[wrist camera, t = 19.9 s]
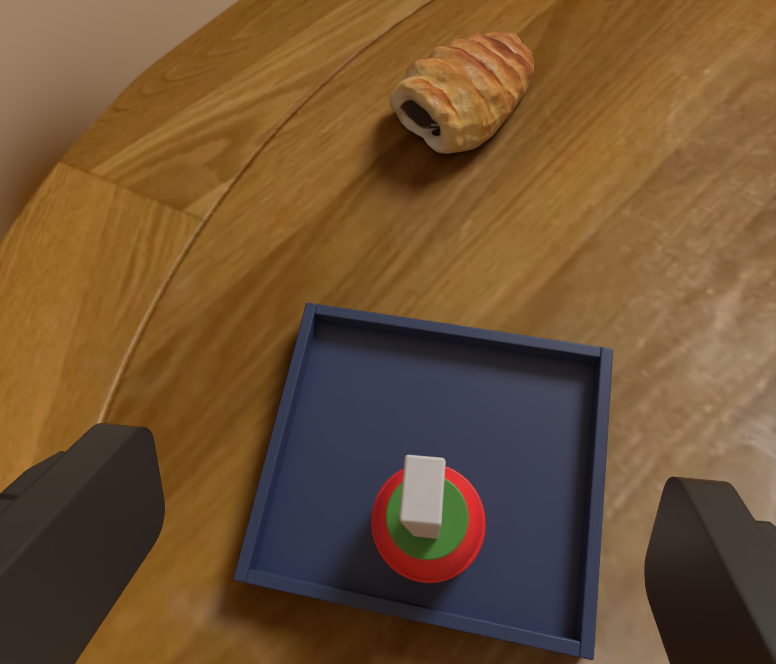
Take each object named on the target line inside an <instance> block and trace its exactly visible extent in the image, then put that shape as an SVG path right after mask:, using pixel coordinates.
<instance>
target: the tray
mask: <svg viewBox="0 0 776 664" xmlns="http://www.w3.org/2000/svg"><path fill="white" fill-rule="evenodd" d="M612 358H613V349H611V348H605V347H598V346H591V345H585V344H578V343H571V342H565V341H558V340H552V339H545V338H538V337H532V336H525V335H518V334H512V333H505V332H499V331H492V330H485V329H479V328H472V327H465V326H459V325H452V324H445V323H439V322H432V321H426V320H419V319H412V318H406V317H399V316H392V315H386V314H379V313H373V312H366V311H359V310H353V309H346V308H339V307H333V306H326V305H319V304H313V303H306V306H305V310H304V313H303V317H302V321H301V325H300V329H299V332H298V336H297V340H296V344H295V348H294V351H293V355H292V359H291V363H290V367H289V370H288V374H287V378H286V382H285V385H284V389H283V393H282V397H281V401H280V404H279V408H278V412H277V416H276V420H275V423H274V427H273V431H272V435H271V439H270V442H269V446H268V450H267V454H266V457H265V461H264V465H263V469H262V473H261V476H260V480H259V484H258V488H257V492H256V495H255V499H254V503H253V507H252V511H251V514H250V518H249V522H248V526H247V529H246V533H245V537H244V541H243V545H242V548H241V552H240V556H239V560H238V564H237V567H236V571H235V575H234V581H239V582H243V583H245V582H246V583H247V584H252V585H256V586H261V587H265V588H270V589H274V590H279V591H283V592H288V593H292V594H297V595H301V596H306V597H310V598H315V599H319V600H324V601H328V602H333V603H337V604H342V605H346V606H351V607H355V608H360V609H364V610H369V611H373V612H378V613H382V614H387V615H391V616H396V617H400V618H405V619H409V620H414V621H418V622H423V623H427V624H432V625H436V626H441V627H445V628H450V629H454V630H459V631H463V632H467V633H472V634H476V635H481V636H485V637H490V638H494V639H499V640H503V641H508V642H512V643H517V644H521V645H526V646H530V647H535V648H539V649H544V650H548V651H553V652H557V653H562V654H566V655H571V656H575V657H581V658H585V659H589V660H593V659H594V646H595V630H596V614H597V598H598V582H599V566H600V550H601V534H602V518H603V502H604V486H605V470H606V454H607V438H608V422H609V406H610V390H611V374H612ZM406 455H416V456H427V457H438V458H443V459H445V461H446V464H445V466H447V467H449V468H451V469H453V470H455V471H457V472H458V473H460V474H461V475H462V476H464V477H465V478H466V479H467V480H468V481H469V482H470V483H471V485H472V486H473V487H474V489H475V490H476V492H477V493H478V495H479V497H480V500H481V502H482V505H483V508H484V512H485V521H486V528H485V536H484V540H483V544H482V546H481V549H480V551H479V553H478V555H477V557H476V558H475V559H474V561H473V562H472V563H471V564H470V565H469V567H468V568H467V569H465V570H464V571H463V572H462V573H460V574H459V575H457V576H455V577H453V578H451V579H448V580H446V581H442V582H436V583H423V582H417V581H414V580H411V579H408V578H406V577H404V576H402V575H400V574H399V573H397V572H396V571H394V570H393V569H392V568H391V567H390V566H389V565H388V564H387V563H386V562H385V560H384V559H383V558H382V556H381V555H380V553H379V551H378V549H377V547H376V545H375V542H374V539H373V534H372V527H371V515H372V509H373V505H374V502H375V499H376V497H377V495H378V493H379V491H380V489H381V488H382V486H383V485H384V484H385V482H386V481H387V480H388V479H389V478H390V477H391V476H393V475H394V474H395V473H397V472H398V471H400V470H402V469H403V468H404V461H405V457H406Z"/></svg>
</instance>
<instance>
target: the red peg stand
mask: <svg viewBox="0 0 776 664" xmlns="http://www.w3.org/2000/svg"><path fill="white" fill-rule="evenodd" d="M445 464H446V461H445V459H443V458H438V457H427V456H416V455H406V457H405V461H404V468H403V469H402V470H400V471H398V472H397V473H395V474H394V475H393V476H391V477H390V478H389V479H388V480H387V481H386V482H385V484H384V485H383V486H382V488H381V489H380V491H379V493H378V495H377V497H376V499H375V502H374V505H373V509H372V515H371V527H372V534H373V539H374V542H375V545H376V547H377V549H378V551H379V553H380V555H381V556H382V558H383V559H384V560H385V562H386V563H387V564H388V565H389V566H390V567H391V568H392V569H393V570H394V571H396V572H397V573H399V574H400V575H402V576H404V577H406V578H408V579H411V580H414V581H417V582H423V583H436V582H442V581H446V580H448V579H451V578H453V577H455V576H457V575H459V574H460V573H462V572H463V571H464V570H465V569H467V568H468V567H469V565H470V564H471V563H472V562H473V561H474V559H475V558H476V557H477V555H478V553H479V551H480V549H481V546H482V544H483V540H484V536H485V528H486V521H485V512H484V508H483V505H482V502H481V500H480V497H479V495H478V493H477V492H476V490H475V489H474V487H473V486H472V485H471V483H470V482H469V481H468V480H467V479H466V478H465V477H464V476H462V475H461V474H460V473H458V472H457V471H455V470H453V469H451V468H449V467H447V466H445Z"/></svg>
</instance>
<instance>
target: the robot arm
mask: <svg viewBox="0 0 776 664" xmlns="http://www.w3.org/2000/svg"><path fill="white" fill-rule="evenodd" d="M164 514H165V502H164V496H163V490H162V484H161V478H160V472H159V466H158V461H157V455H156V449H155V443H154V438H153V435H152V433H151V431H150V430H149V429H148V428H146V427H138V426H127V425H116V424H105V423H99V424H96V425H94V426H93V427H92V428H90V429H89V430H88V431H87V432H86V433H85V434H84V435H83V436H82V437H81V438H80V439H79V440H78V441H76V442H75V443H74V444H73V445H72V446H71V447H70V448H69V449H68V450H67V451H66V452H63V451H60V452H59V453H57V454H55V455H53V456H51V457H49V458H48V459H46V460H44V461H42V462H40V463H39V464H37V465H35V466H33V467H31V468H29V469H28V470H26V471H25V472H24V473H23V474H21V475H20V476H19V477H18V478H17V479H16V480H15V481H14V482H13V483H11V484H10V485H9V486H8V487H7V488H6V489H5V490H4V491H3V492H1V493H0V664H75V663H76V661H77V660H78V658H79V657H80V655H81V654H82V652H83V651H84V649H85V648H86V646H87V645H88V643H89V642H90V640H91V639H92V637H93V636H94V634H95V633H96V631H97V630H98V628H99V627H100V625H101V624H102V622H103V621H104V619H105V618H106V616H107V615H108V613H109V612H110V610H111V609H112V607H113V606H114V604H115V603H116V601H117V600H118V598H119V597H120V595H121V594H122V592H123V591H124V589H125V588H126V586H127V585H128V583H129V582H130V580H131V579H132V577H133V576H134V574H135V573H136V571H137V570H138V568H139V567H140V565H141V564H142V562H143V561H144V559H145V558H146V556H147V555H148V553H149V552H150V550H151V549H152V547H153V546H154V544H155V542H156V541H157V539H158V537H159V534H160V532H161V529H162V525H163V521H164ZM644 575H645V587H646V593H647V597H648V601H649V604H650V607H651V610H652V613H653V615H654V618H655V621H656V624H657V627H658V630H659V633H660V636H661V639H662V642H663V645H664V648H665V650H666V653H667V656H668V659H669V662H670V664H776V526H774V525H773V524H772V523H771V522H766V521H756V520H755V519H754V518H753V516H752V515H751V513H750V511H749V510H748V508H747V507H746V505H745V504H744V502H743V501H742V499H741V497H740V496H739V494H738V493H737V491H736V490H735V488H734V487H733V486H732V485H731V484H730V483H728V482H725V481H715V480H704V479H693V478H682V477H670V478H669V479H668V480H667V482H666V484H665V486H664V489H663V492H662V496H661V500H660V504H659V507H658V511H657V515H656V519H655V522H654V526H653V530H652V534H651V538H650V541H649V545H648V549H647V553H646V558H645V569H644Z"/></svg>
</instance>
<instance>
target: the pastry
mask: <svg viewBox="0 0 776 664" xmlns="http://www.w3.org/2000/svg"><path fill="white" fill-rule="evenodd" d="M533 73H534V60H533V56H532V53H531V51H530V50H529V49H528V48H527V47H526V46H525V45H524V44H523V43H522V42H521V41H520V39H519V38H518V36H517V35H516V34H514V33H503V32H493V33H488V34H484V35H481V34H479V33H475V34H474V35H472V36H471V37H470V38H468V39H467V40H463V39H460V38H456V39H454V40H453V41H452V42H451V43H450V45H449V46H439V47H436V48H434V49H433V51H432V52H431V54H430V56H429V58H428V59H424V60H423V59H419V60H415V61H414V62H413V63H412V64H411V65H410V66H409V67H408V69H407V72H406V74H405V76H404V78H403V80H402V81H401V82H400V83H399V84H398V85H397V87H396V89H395V90H394V91H392V92H391V94H390V106H391V108H392V109H393V110H394V111H395V112H396V114H397V116H398V118H399V120H400V121H401V123H402V124H403V125H404V126H405V127H406V128H407V129H408V130H410V131H412V132H413V133H415V134H416V135H418V136H421V137H423V138H424V139H425V142H426V143H427V144H428V145H429V146H430V147H431V148H432V149H433V150H435V151H436V152H438V153H446V154H449V153H455V152H463V151H468V150H471V149H474V148H477V147H479V146H480V145H481V144H482V143H484V142H485V141H486V140H487V139H489V138H490V137H492V136H493V135H494V133H495V132H496V131H497V129H499V128H500V127H501V125H502V124H503V123H504V121H505V120H506V119H507V118H508V117H509V115H510V114H511V112H512V111H513V110H514V108H515V107H516V105H517V104H518V102H519V101H520V99H521V98H522V96H523V95H524V94H525V92H526V90H527V89H528V87H529V84H530V80H531V77H532V75H533Z"/></svg>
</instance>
